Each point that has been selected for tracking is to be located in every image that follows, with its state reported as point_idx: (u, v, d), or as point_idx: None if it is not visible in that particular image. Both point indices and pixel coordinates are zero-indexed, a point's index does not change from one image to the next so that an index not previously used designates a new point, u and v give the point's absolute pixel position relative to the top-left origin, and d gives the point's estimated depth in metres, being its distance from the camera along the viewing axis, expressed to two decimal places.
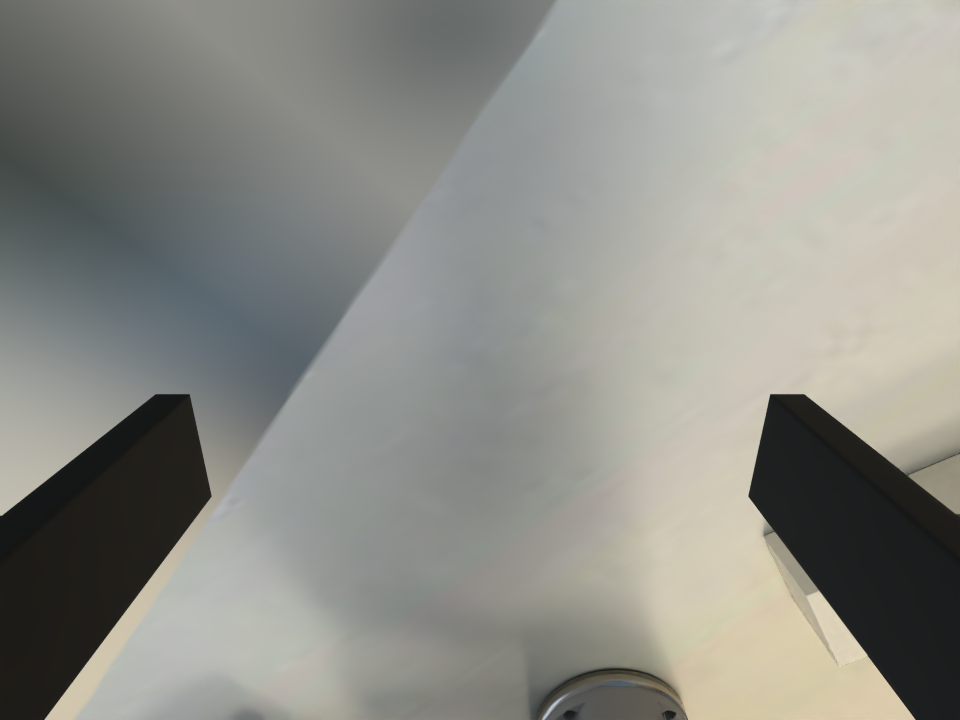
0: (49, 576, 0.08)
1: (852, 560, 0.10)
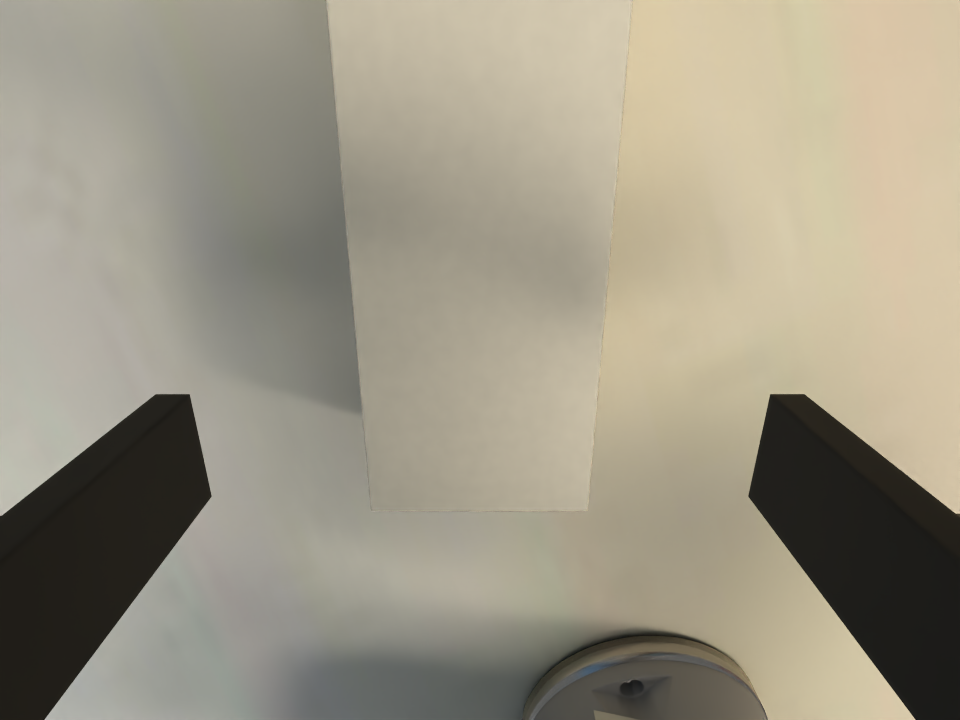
0: (49, 576, 0.08)
1: (852, 560, 0.10)
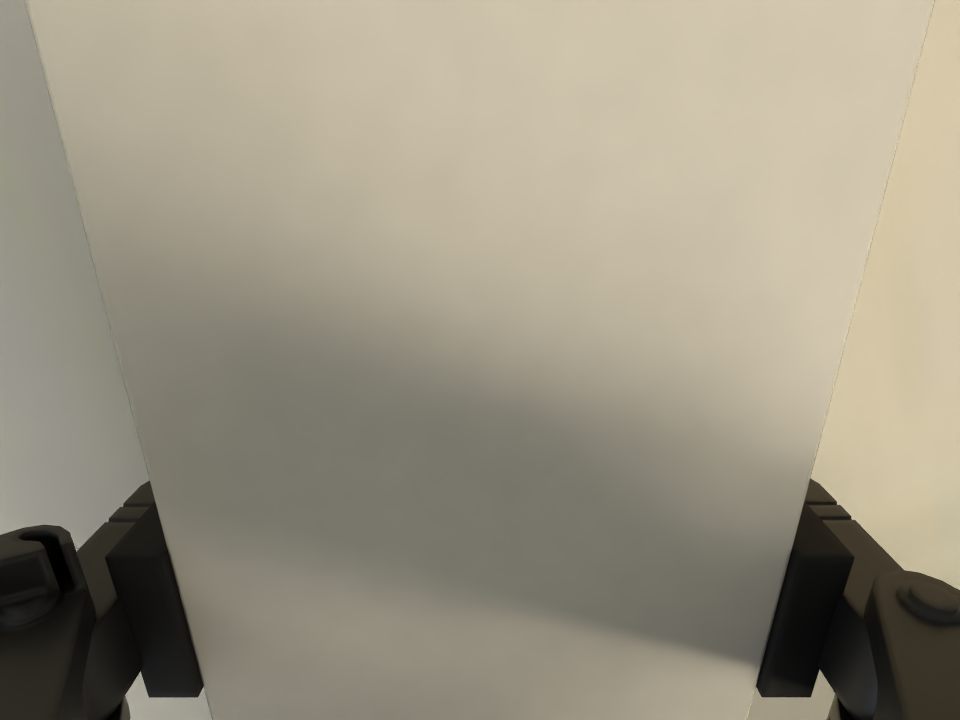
0: None
1: None
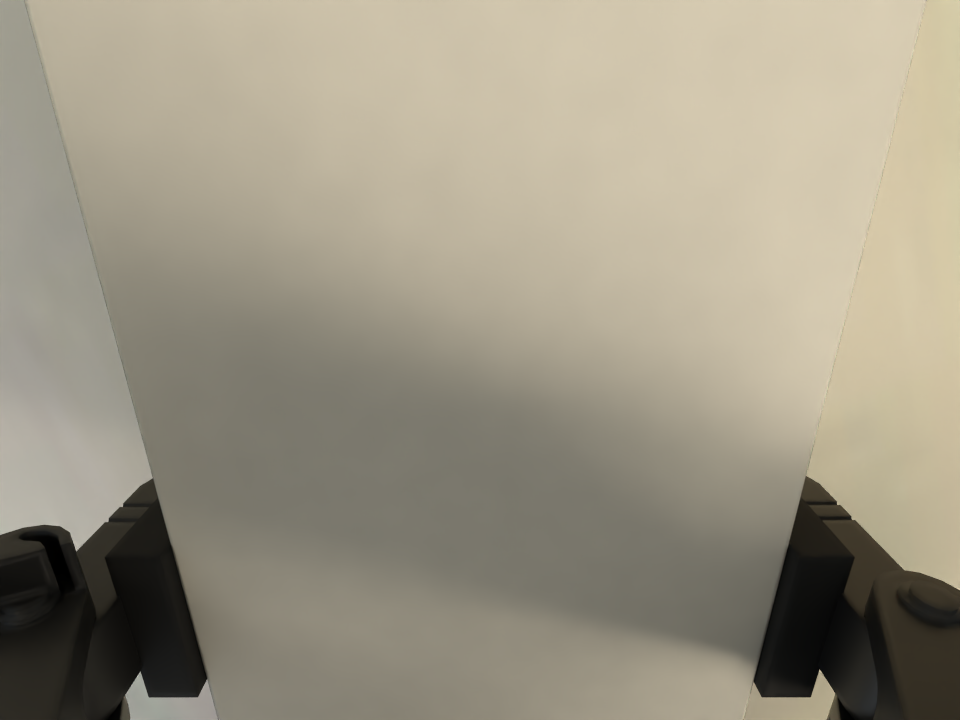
0: None
1: None
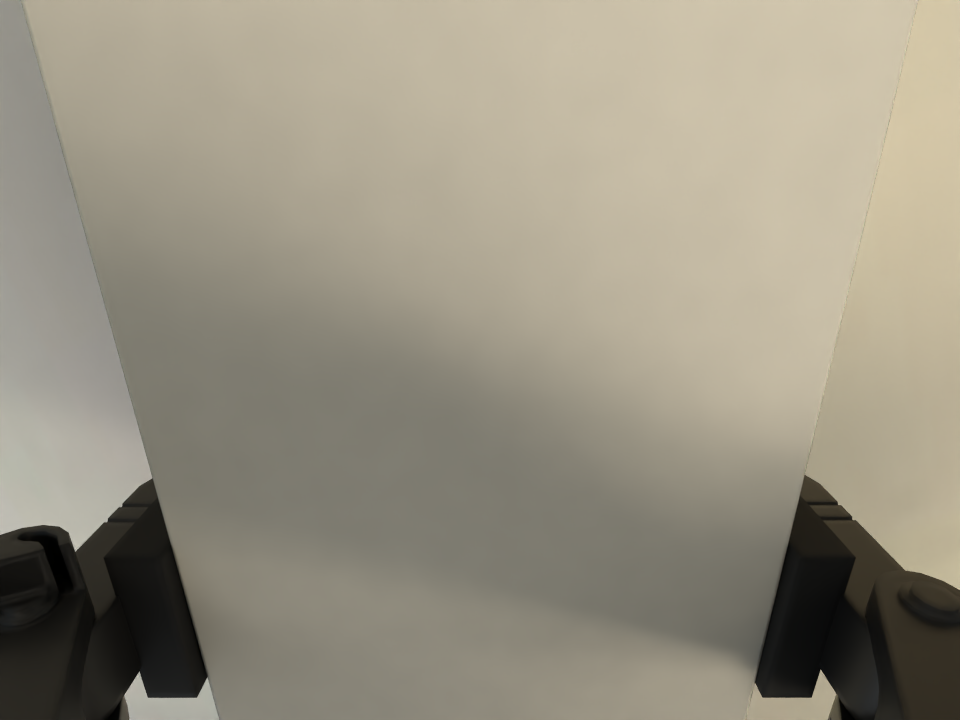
0: None
1: None
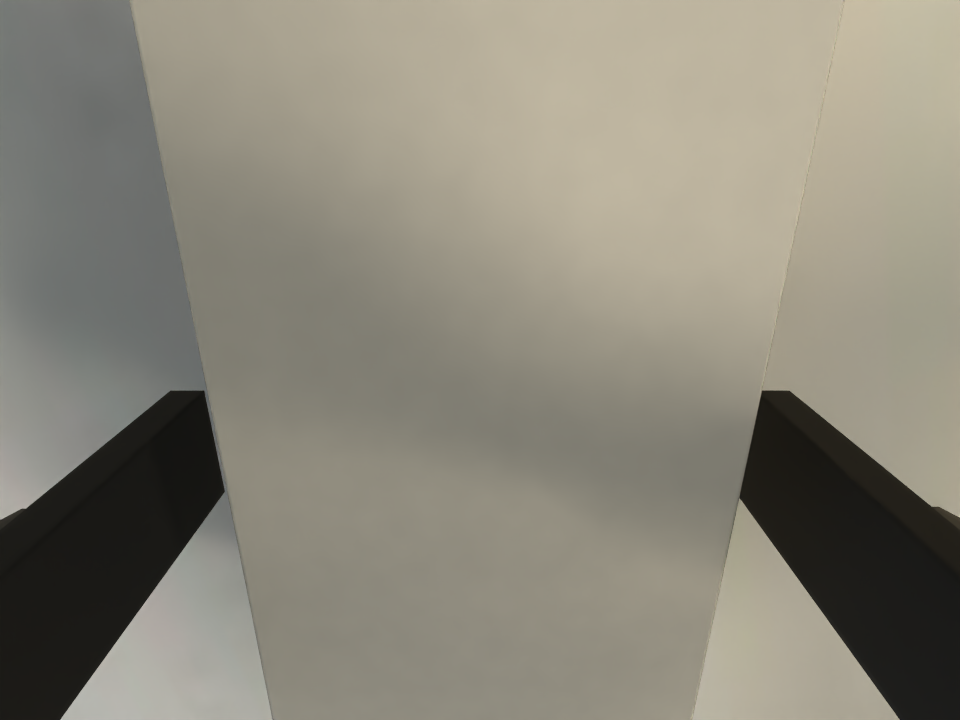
0: (73, 567, 0.08)
1: (832, 552, 0.10)
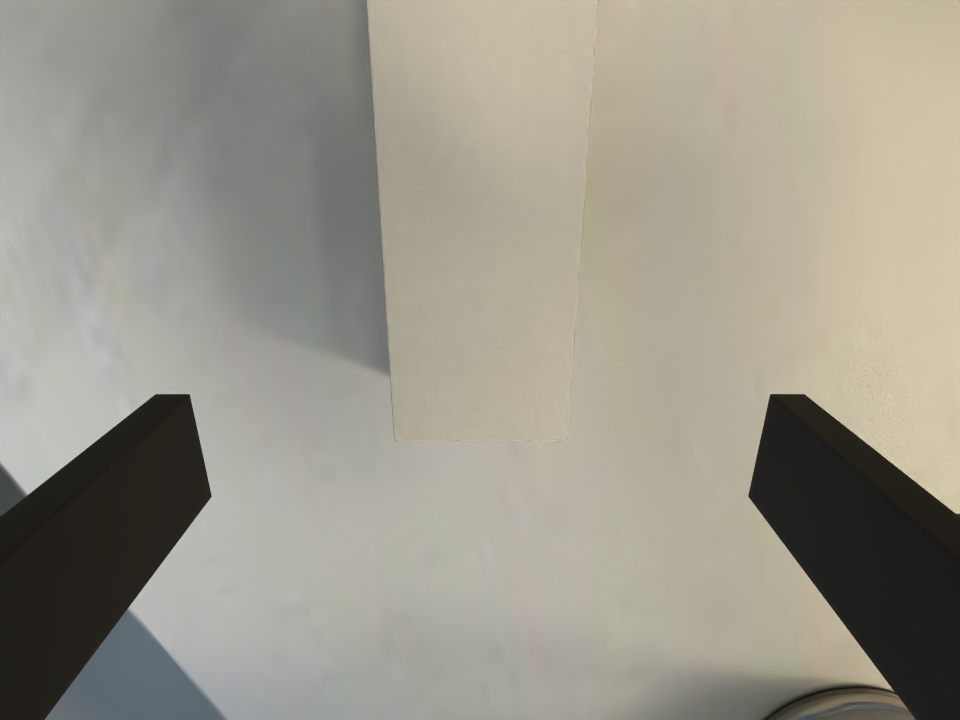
0: (49, 576, 0.08)
1: (852, 560, 0.10)
